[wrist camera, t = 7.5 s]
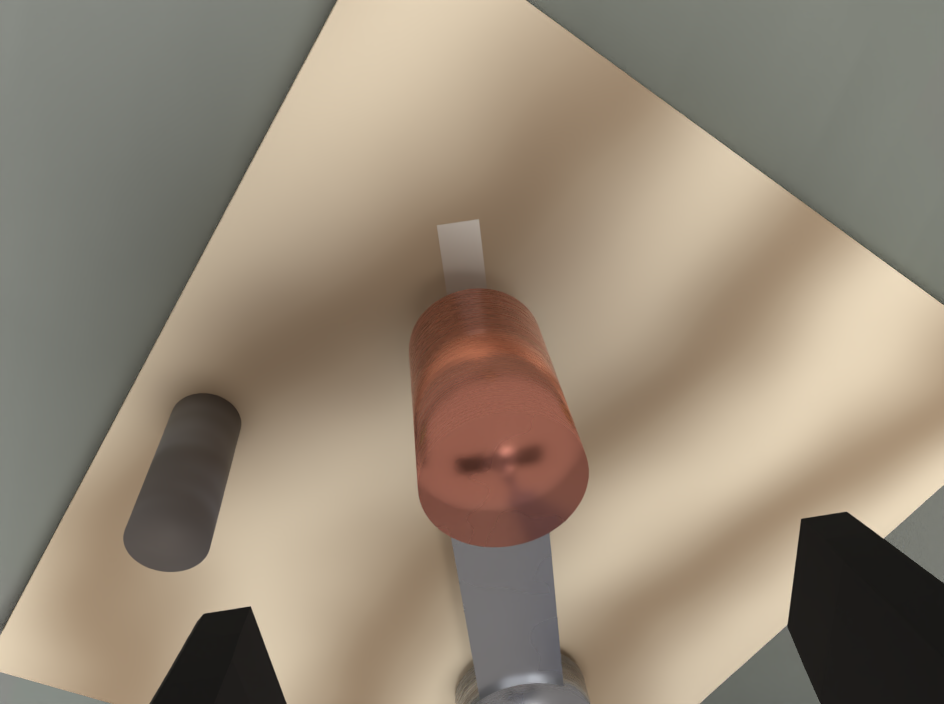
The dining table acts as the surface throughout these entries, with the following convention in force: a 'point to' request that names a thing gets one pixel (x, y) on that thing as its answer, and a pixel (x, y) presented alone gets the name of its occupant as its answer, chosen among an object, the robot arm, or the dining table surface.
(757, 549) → the board
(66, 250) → the dining table surface
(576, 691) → the lever
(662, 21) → the dining table surface
